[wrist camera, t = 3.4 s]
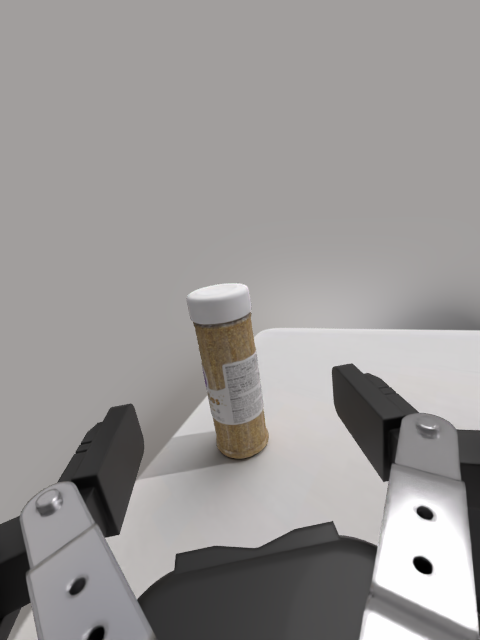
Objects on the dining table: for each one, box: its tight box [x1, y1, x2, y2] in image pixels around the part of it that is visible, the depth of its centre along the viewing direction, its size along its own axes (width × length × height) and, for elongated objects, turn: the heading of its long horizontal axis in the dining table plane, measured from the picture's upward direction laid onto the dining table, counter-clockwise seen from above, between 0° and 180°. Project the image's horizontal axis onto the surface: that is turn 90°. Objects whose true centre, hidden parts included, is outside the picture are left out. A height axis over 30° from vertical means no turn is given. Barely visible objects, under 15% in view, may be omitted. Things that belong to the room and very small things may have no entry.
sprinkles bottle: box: [187, 283, 269, 459], centre depth 24 cm, size 5×5×13 cm
